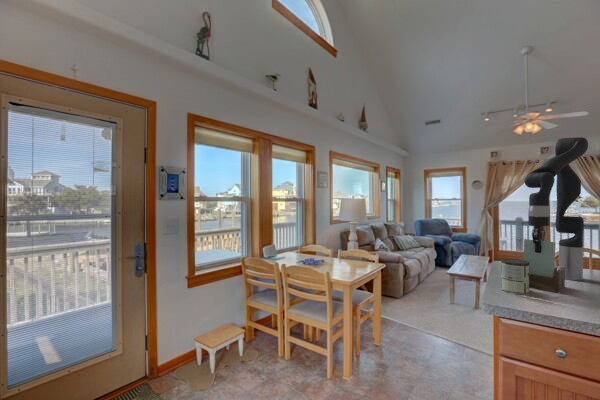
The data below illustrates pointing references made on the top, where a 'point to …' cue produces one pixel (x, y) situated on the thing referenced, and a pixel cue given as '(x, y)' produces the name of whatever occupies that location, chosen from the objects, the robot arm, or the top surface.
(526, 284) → the coffee can
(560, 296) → the top surface
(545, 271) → the tall sheet
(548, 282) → the rack
